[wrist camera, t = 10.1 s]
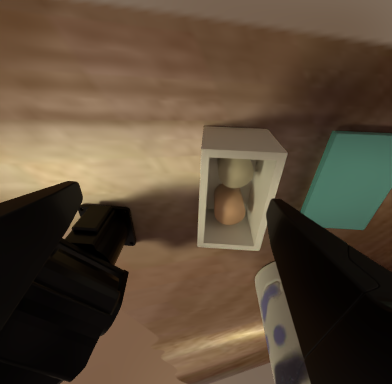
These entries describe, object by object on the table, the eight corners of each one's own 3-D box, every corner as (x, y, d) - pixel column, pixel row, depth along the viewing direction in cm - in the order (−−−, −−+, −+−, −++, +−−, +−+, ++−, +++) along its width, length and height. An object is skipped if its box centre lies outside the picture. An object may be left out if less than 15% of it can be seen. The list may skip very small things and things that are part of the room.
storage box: (249, 212, 24) (259, 251, 19) (199, 208, 25) (197, 246, 20) (267, 128, 19) (288, 153, 14) (203, 126, 19) (201, 149, 14)
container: (257, 257, 29) (321, 531, 12) (331, 256, 28) (514, 555, 11) (252, 296, 34) (292, 523, 17) (314, 297, 33) (420, 538, 16)
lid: (353, 218, 24) (363, 230, 23) (292, 214, 25) (298, 226, 23) (405, 130, 18) (425, 137, 17) (325, 126, 19) (337, 133, 17)
